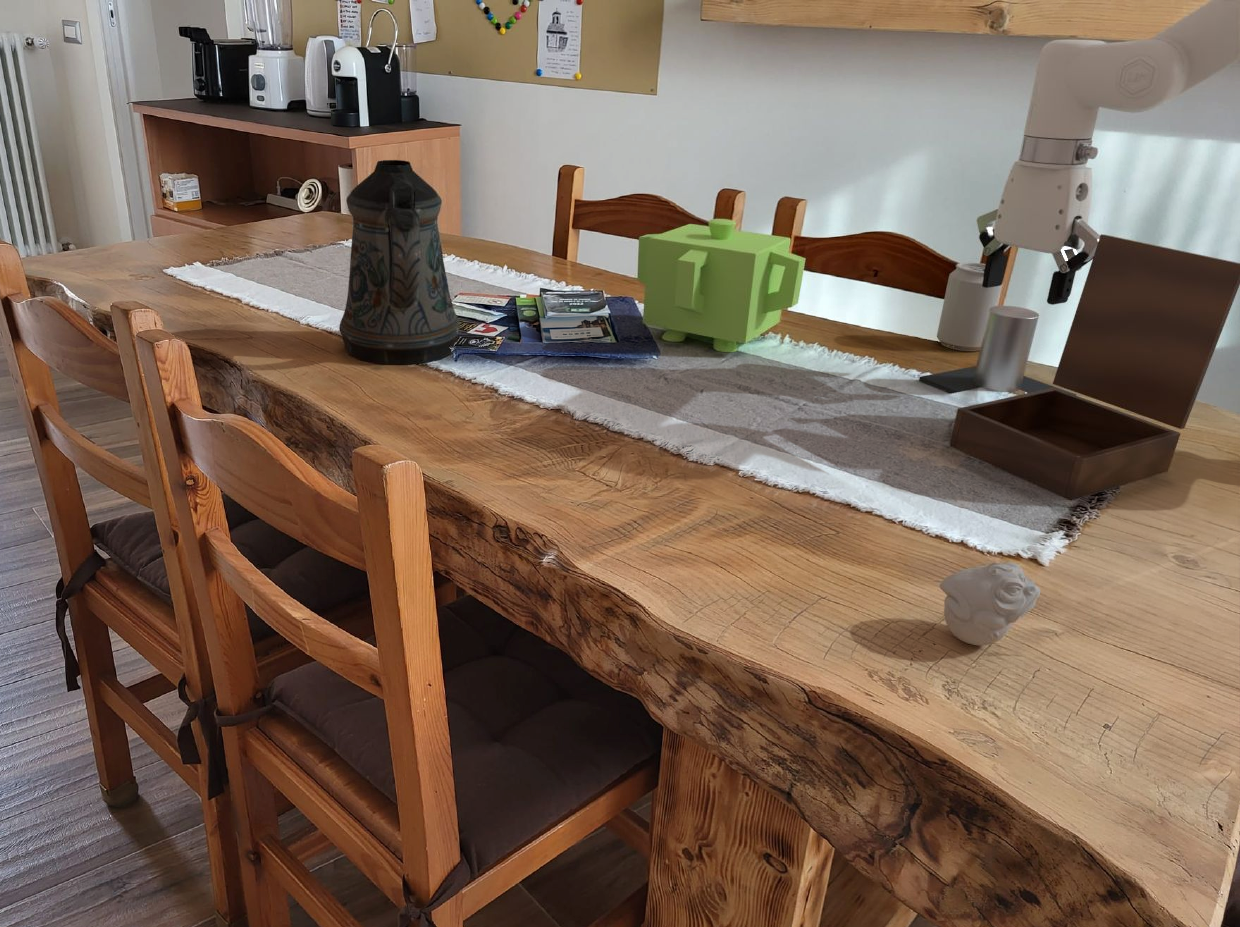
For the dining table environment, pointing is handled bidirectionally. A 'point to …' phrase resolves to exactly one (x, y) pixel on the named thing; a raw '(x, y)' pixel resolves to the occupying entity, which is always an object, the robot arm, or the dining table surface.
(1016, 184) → the robot arm
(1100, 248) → the lid
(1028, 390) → the mat
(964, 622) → the frog figurine
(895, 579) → the dining table surface
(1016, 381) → the steel canister
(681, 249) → the green square teapot
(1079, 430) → the brown shallow square box
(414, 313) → the dark ornate jug
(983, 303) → the can
